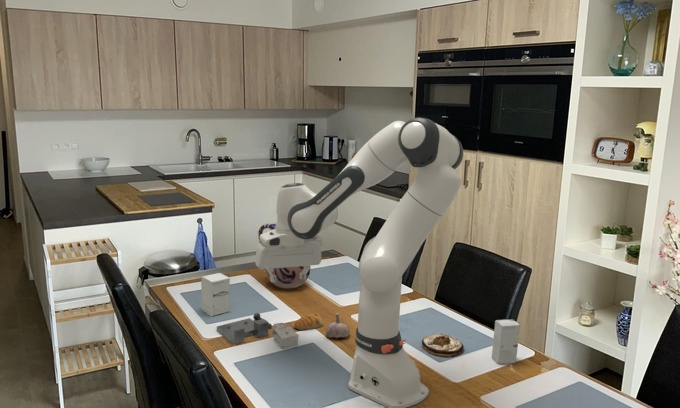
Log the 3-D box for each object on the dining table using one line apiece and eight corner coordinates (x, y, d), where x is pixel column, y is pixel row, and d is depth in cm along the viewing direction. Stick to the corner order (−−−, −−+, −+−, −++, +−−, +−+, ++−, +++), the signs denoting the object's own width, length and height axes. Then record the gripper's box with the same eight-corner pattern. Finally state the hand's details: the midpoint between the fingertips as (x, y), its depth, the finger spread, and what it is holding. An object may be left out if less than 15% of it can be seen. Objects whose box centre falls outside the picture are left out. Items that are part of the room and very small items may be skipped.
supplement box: (211, 317, 187) (210, 281, 184) (201, 310, 192) (200, 275, 190) (230, 311, 192) (230, 277, 189) (219, 305, 197) (219, 272, 194)
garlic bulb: (322, 338, 173) (323, 315, 172) (330, 329, 180) (331, 307, 179) (344, 343, 171) (345, 319, 169) (352, 334, 178) (353, 310, 176)
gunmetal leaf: (268, 335, 174) (268, 321, 173) (234, 344, 167) (234, 331, 166) (249, 322, 184) (249, 309, 183) (216, 330, 176) (216, 317, 175)
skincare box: (498, 364, 160) (502, 326, 158) (490, 357, 165) (494, 319, 162) (517, 363, 162) (521, 324, 159) (509, 356, 166) (513, 318, 164)
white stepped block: (298, 345, 168) (298, 334, 167) (281, 348, 166) (281, 337, 165) (285, 331, 177) (286, 321, 176) (269, 334, 175) (269, 323, 174)
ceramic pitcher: (308, 294, 211) (309, 231, 206) (253, 292, 211) (254, 229, 206) (311, 279, 228) (312, 220, 223) (260, 277, 228) (261, 218, 223)
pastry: (301, 333, 177) (301, 322, 176) (289, 326, 182) (289, 315, 181) (324, 326, 183) (324, 315, 182) (312, 320, 188) (312, 309, 187)
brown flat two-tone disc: (436, 364, 160) (437, 351, 160) (409, 343, 174) (410, 330, 173) (476, 355, 167) (477, 343, 166) (447, 335, 180) (448, 323, 179)
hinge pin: (272, 327, 180) (272, 320, 179) (266, 329, 179) (266, 322, 178) (259, 318, 187) (259, 312, 186) (253, 320, 185) (253, 313, 185)
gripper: (318, 231, 171) (315, 273, 174) (254, 235, 162) (253, 279, 165) (326, 237, 165) (323, 280, 168) (260, 241, 157) (259, 286, 159)
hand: (288, 280), depth 166 cm, fingers open, 8 cm apart
